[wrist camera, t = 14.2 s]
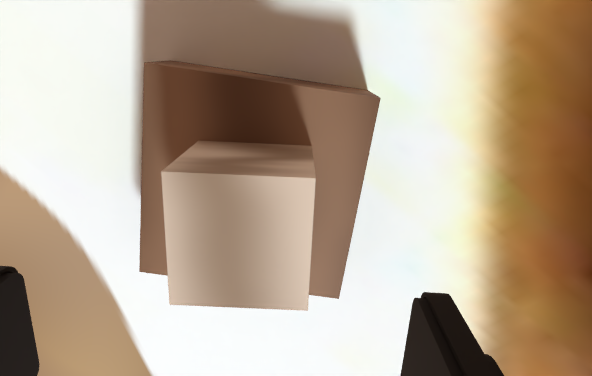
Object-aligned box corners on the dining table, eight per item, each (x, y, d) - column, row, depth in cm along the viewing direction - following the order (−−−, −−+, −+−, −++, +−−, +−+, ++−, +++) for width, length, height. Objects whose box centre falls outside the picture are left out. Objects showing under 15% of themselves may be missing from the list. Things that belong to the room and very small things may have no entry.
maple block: (311, 145, 18) (315, 178, 13) (306, 248, 19) (307, 310, 15) (198, 140, 18) (161, 171, 13) (201, 243, 19) (169, 304, 15)
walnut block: (366, 89, 21) (380, 97, 17) (333, 259, 24) (338, 298, 20) (173, 60, 21) (144, 62, 17) (165, 236, 24) (139, 271, 20)
